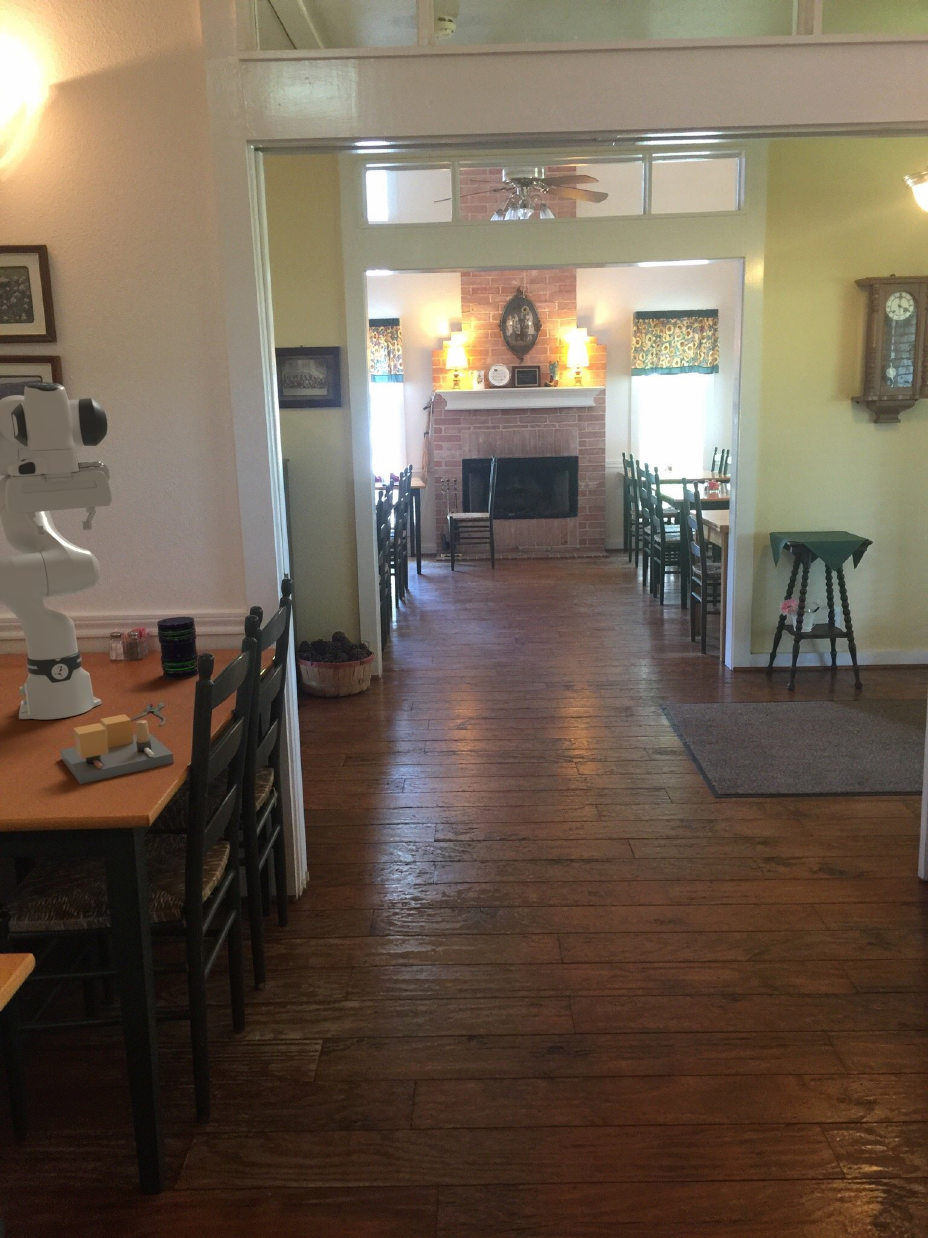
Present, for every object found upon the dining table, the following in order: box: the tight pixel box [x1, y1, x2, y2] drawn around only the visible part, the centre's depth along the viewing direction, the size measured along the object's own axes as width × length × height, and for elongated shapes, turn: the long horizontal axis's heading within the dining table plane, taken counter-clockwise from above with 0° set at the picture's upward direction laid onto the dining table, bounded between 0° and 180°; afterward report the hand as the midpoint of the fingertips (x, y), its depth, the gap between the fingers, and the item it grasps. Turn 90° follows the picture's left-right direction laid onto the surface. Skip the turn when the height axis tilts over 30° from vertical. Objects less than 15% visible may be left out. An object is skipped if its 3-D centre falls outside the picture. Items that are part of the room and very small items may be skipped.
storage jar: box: [156, 616, 199, 680], centre depth 266 cm, size 10×10×15 cm
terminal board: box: [60, 719, 174, 785], centre depth 200 cm, size 18×18×9 cm
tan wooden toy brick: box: [100, 713, 134, 748], centre depth 206 cm, size 5×5×5 cm
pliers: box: [130, 700, 167, 727], centre depth 230 cm, size 10×1×20 cm
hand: (63, 531), depth 202 cm, fingers open, 8 cm apart
